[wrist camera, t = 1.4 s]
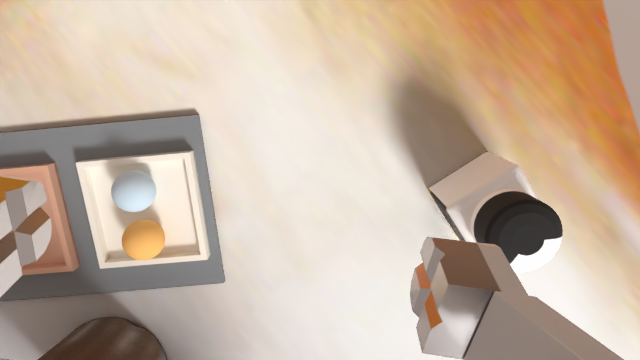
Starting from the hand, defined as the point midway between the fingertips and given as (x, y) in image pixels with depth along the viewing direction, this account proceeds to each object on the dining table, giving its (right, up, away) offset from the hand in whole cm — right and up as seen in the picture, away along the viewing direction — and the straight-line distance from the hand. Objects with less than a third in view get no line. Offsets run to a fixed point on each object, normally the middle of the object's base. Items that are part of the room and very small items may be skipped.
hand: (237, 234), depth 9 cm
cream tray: (-16, -2, +35) cm, 38 cm away
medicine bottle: (+18, -1, +35) cm, 39 cm away
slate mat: (-23, -2, +36) cm, 42 cm away
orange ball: (-16, -5, +33) cm, 37 cm away
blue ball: (-16, 0, +32) cm, 36 cm away
